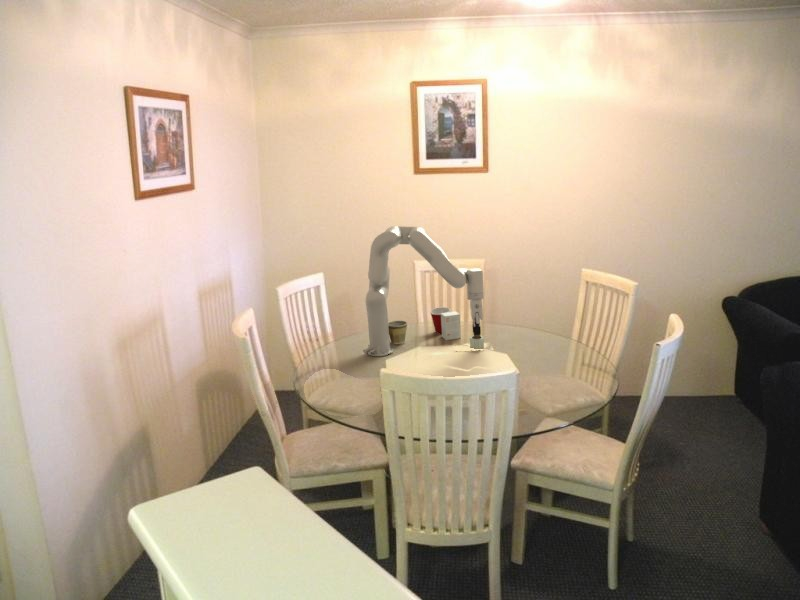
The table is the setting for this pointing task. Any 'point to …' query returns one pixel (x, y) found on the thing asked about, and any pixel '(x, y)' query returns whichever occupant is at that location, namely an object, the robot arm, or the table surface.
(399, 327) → the ceramic cup
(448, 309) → the plastic cup
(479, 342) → the jar
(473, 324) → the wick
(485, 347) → the trivet
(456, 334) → the small box
